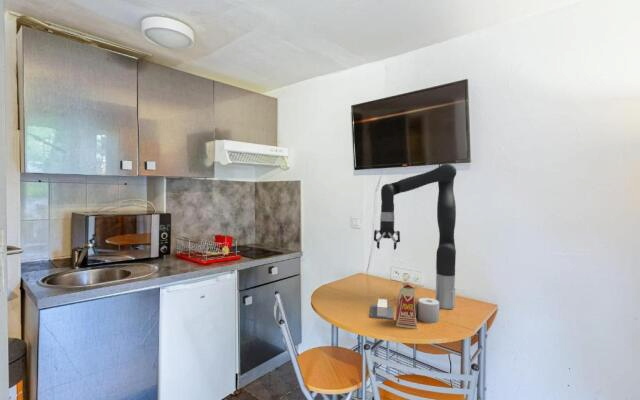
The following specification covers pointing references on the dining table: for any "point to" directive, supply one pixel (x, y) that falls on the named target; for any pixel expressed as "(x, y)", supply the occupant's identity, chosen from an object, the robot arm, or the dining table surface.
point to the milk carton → (406, 307)
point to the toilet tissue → (427, 310)
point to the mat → (374, 315)
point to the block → (382, 307)
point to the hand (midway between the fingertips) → (386, 249)
